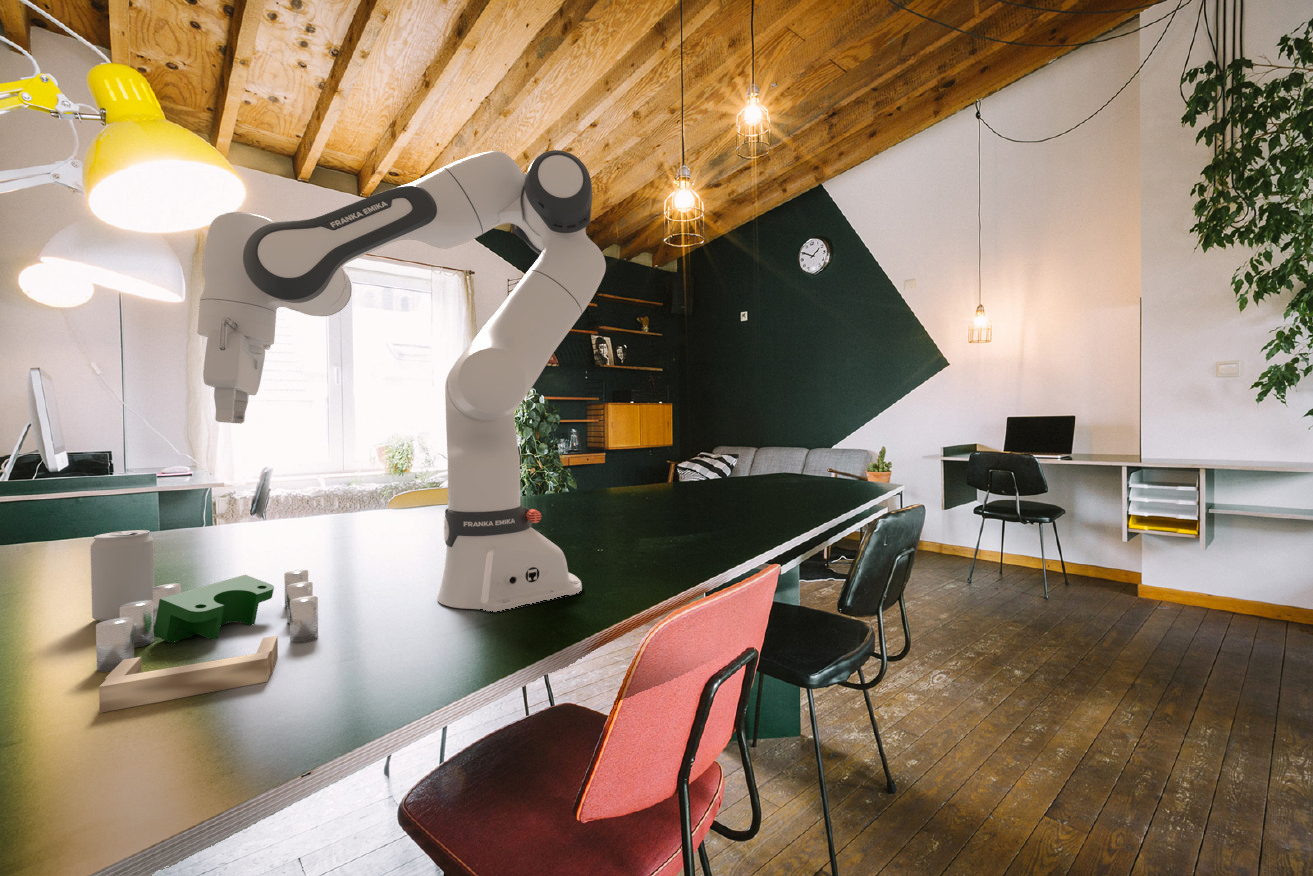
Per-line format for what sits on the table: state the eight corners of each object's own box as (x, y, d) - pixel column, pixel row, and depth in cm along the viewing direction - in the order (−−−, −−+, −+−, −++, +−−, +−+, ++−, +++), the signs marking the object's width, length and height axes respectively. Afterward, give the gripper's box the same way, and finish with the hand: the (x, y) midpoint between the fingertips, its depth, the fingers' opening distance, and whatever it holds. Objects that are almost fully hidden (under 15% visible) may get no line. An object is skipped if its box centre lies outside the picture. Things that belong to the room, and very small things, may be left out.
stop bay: (277, 656, 64) (277, 635, 64) (269, 681, 58) (269, 657, 58) (124, 682, 57) (123, 659, 57) (96, 713, 51) (96, 687, 51)
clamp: (200, 676, 69) (182, 623, 65) (164, 660, 70) (144, 608, 66) (284, 611, 79) (273, 563, 75) (251, 598, 80) (238, 550, 76)
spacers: (324, 598, 85) (323, 567, 85) (317, 640, 69) (316, 601, 69) (146, 622, 75) (146, 586, 75) (88, 677, 59) (87, 631, 58)
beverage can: (115, 626, 74) (113, 538, 73) (79, 623, 75) (77, 536, 75) (166, 610, 80) (165, 529, 80) (132, 608, 81) (130, 528, 81)
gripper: (254, 318, 71) (246, 423, 71) (272, 340, 89) (265, 425, 89) (192, 309, 68) (183, 419, 68) (223, 334, 86) (216, 422, 85)
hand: (230, 422), depth 78 cm, fingers open, 8 cm apart
